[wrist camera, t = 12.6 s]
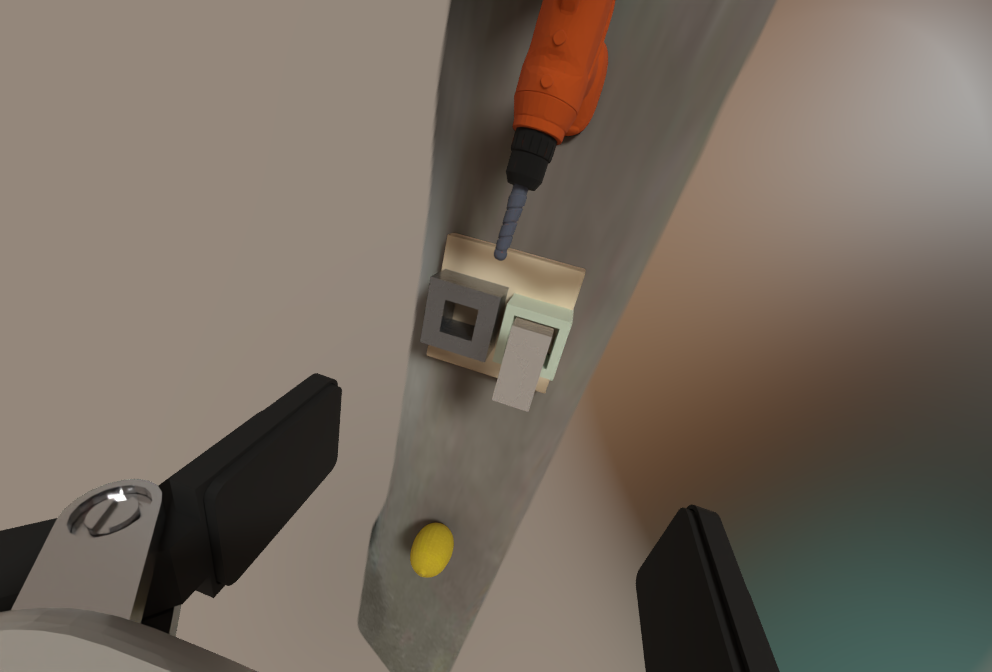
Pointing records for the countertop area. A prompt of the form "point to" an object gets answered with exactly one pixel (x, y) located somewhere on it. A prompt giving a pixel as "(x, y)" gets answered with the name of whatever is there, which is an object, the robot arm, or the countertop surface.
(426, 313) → the block
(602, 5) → the toy drill
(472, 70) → the countertop surface
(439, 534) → the lemon
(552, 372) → the pale green hollow frame
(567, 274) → the board
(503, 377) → the light grey block
